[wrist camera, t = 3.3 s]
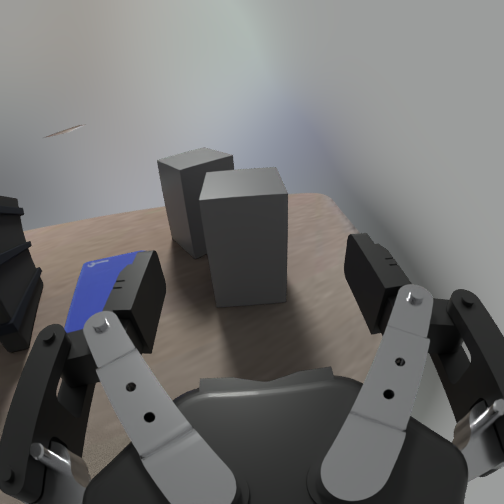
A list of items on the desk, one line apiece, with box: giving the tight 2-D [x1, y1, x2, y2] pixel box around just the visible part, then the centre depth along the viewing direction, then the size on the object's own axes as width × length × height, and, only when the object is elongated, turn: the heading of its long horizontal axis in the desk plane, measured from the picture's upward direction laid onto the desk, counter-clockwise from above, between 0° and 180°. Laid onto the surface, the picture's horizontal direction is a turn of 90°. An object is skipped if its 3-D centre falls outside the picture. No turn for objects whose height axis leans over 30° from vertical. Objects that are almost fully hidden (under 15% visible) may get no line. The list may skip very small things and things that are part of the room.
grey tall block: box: [157, 148, 234, 259], centre depth 32 cm, size 6×6×10 cm
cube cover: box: [199, 167, 288, 307], centre depth 25 cm, size 6×6×10 cm
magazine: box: [0, 196, 43, 352], centre depth 21 cm, size 4×13×15 cm, turn 23°
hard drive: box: [65, 251, 143, 333], centre depth 26 cm, size 2×8×12 cm
